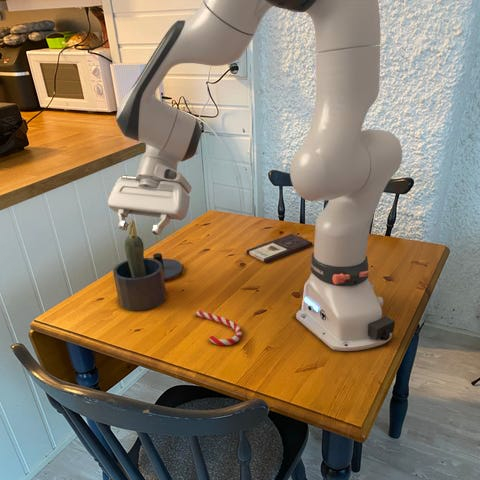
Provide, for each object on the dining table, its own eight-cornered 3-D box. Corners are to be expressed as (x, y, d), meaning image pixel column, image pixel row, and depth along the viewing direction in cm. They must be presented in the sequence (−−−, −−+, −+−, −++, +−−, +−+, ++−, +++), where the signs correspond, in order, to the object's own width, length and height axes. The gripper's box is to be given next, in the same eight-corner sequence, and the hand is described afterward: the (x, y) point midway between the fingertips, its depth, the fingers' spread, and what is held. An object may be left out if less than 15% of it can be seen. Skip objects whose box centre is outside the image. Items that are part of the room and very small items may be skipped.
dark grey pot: (169, 306, 113) (165, 274, 109) (120, 314, 111) (114, 282, 106) (162, 284, 123) (158, 254, 118) (117, 291, 120) (111, 261, 116)
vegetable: (146, 302, 114) (133, 224, 103) (130, 300, 115) (115, 222, 104) (154, 293, 118) (142, 217, 107) (139, 291, 119) (126, 215, 108)
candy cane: (208, 305, 110) (250, 331, 101) (208, 309, 111) (250, 336, 101) (180, 317, 106) (222, 345, 96) (181, 322, 107) (222, 350, 97)
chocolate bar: (312, 242, 140) (266, 260, 130) (312, 245, 140) (266, 263, 131) (291, 233, 146) (246, 250, 136) (291, 236, 146) (246, 253, 137)
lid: (186, 278, 125) (184, 261, 122) (139, 286, 122) (135, 268, 119) (178, 259, 135) (176, 242, 132) (134, 266, 132) (131, 249, 130)
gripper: (112, 167, 112) (94, 220, 110) (187, 174, 105) (170, 231, 103) (126, 181, 118) (109, 231, 116) (197, 188, 111) (182, 242, 109)
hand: (138, 231), depth 109 cm, fingers open, 8 cm apart
